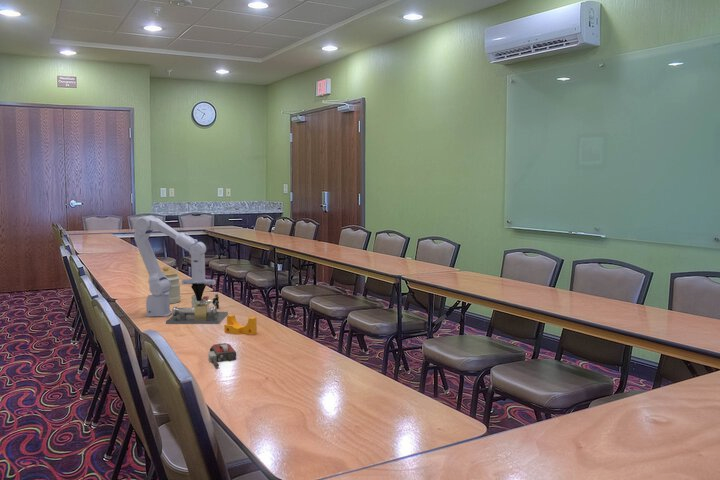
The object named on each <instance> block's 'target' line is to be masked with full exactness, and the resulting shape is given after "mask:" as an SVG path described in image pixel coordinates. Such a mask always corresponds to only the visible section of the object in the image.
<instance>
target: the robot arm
mask: <svg viewBox="0 0 720 480" xmlns="http://www.w3.org/2000/svg"><path fill="white" fill-rule="evenodd" d="M133 227H134V241H135V244H136V246H137V248H138V251H139V253H140V257H141V258H142V261H143V264H144V266H145V268H146V271H147V273H148V276H149V277H148V281H147V282H148V284H149V288H148V289H149V292H150V294H148V295H147V297H146V300H145V301H146V302H145V303H146V305H145V306H146V315H145V316H146V317H169V316H170V315H171V314H172V310H171V308H170V307H171V306H170V305H171V304H170V298H169V290H170V289H171V286H172V285H171V282H170V280H169V279H167V277H166V275H165V274H164V273H163V272H162V271H161V270H162V269H161V267H160V265H159V262H158V259H157V256H156V254H155V252H154V249H153V248H152V245H151V242H150V240H149V237H150V236H151V234H152V233H153V232H154V231H159V232H160V233H163V234H164V235H166V236H168V237H170V238H171V239H173V240H174V241H175V244H176V245H178V246H179V247H181V248H183V249H184V250H186V251H187V252H188V253H189V256H191V257H190V261H191V262H190V263H191V278H189V279H186V278H185V279H182V280H181V285H191V290H192V291H193V293H194V295H195V296H196V299H197V301H200V300H201V299H203V294H204V292H205V289H206V287H207V285H210V286H211V285H212V286H214V285H217V284H216V283H217V281H216V279H206V262H205V261H206V258H205V253H206V252H207V246H206V244H205V243H204V242H203V241H198V239H196V238H195V239H194V238H193V237H192V236H190V235H189V233H188V232H179V231H177V230H175V229H174V228H172V227H171V226H170V225H168V224H167V223H165V222H164V221H162V219H160V218H158V217H156V216H154V215H152V214H151V215H148V216H146V215H145V216H139V217H137V219H136V220H135V222H134V224H133Z"/></svg>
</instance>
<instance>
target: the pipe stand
mask: <svg viewBox="0 0 720 480" xmlns="http://www.w3.org/2000/svg"><path fill="white" fill-rule="evenodd" d="M171 311H172V313H171V314H172V316H171V317H170V318H168V319H167V320H166V321H165V325H177V324H178V325H184V324H185V325H186V324H187V325H192V324H193V325H194V324H195V325H198V324H199V325H203V324H204V325H207V324H209V325H210V324H211V325H212V324H213V325H216V324H218V325H219V324H221V322H222V321H223V320H224V319H225V318H227V316H228V311H218V308H217V306H212V307H210V304H207V303H206V304H204V305H203V306H200V304H197V305H196V306H195V307H194V308H192V307H178V306H173V307H172V310H171Z"/></svg>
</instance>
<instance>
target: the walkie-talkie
mask: <svg viewBox="0 0 720 480" xmlns="http://www.w3.org/2000/svg"><path fill="white" fill-rule="evenodd" d="M207 354H208V360H209V362H210V363H213V364H214V366H215V367H217V368H218V367H219V366H220V364H219V362H224V361H225V362H226V361H232V360H235V361H236V360H237V352H236V350H235V349H234V348H233V346H232V345H231V343H230V344H229V343H226V342H221V343H217V344H216V343H215V344H213V345H211V346H210V348H209V352H208V353H207Z"/></svg>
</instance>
